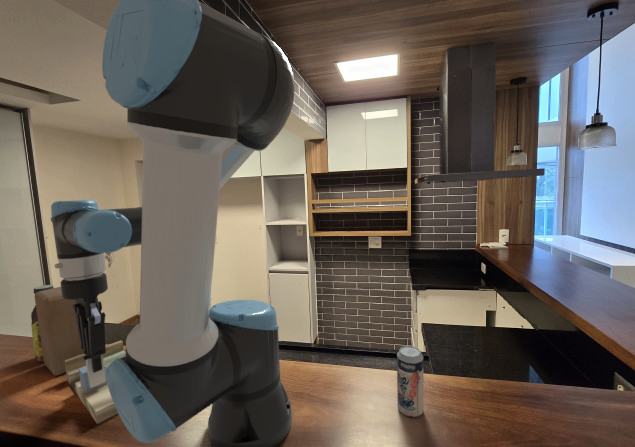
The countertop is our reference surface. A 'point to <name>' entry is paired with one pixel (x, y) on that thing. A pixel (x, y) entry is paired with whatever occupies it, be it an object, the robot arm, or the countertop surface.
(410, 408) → the beer can
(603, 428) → the countertop surface
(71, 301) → the block
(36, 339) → the sauce bottle
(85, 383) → the cube
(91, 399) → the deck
